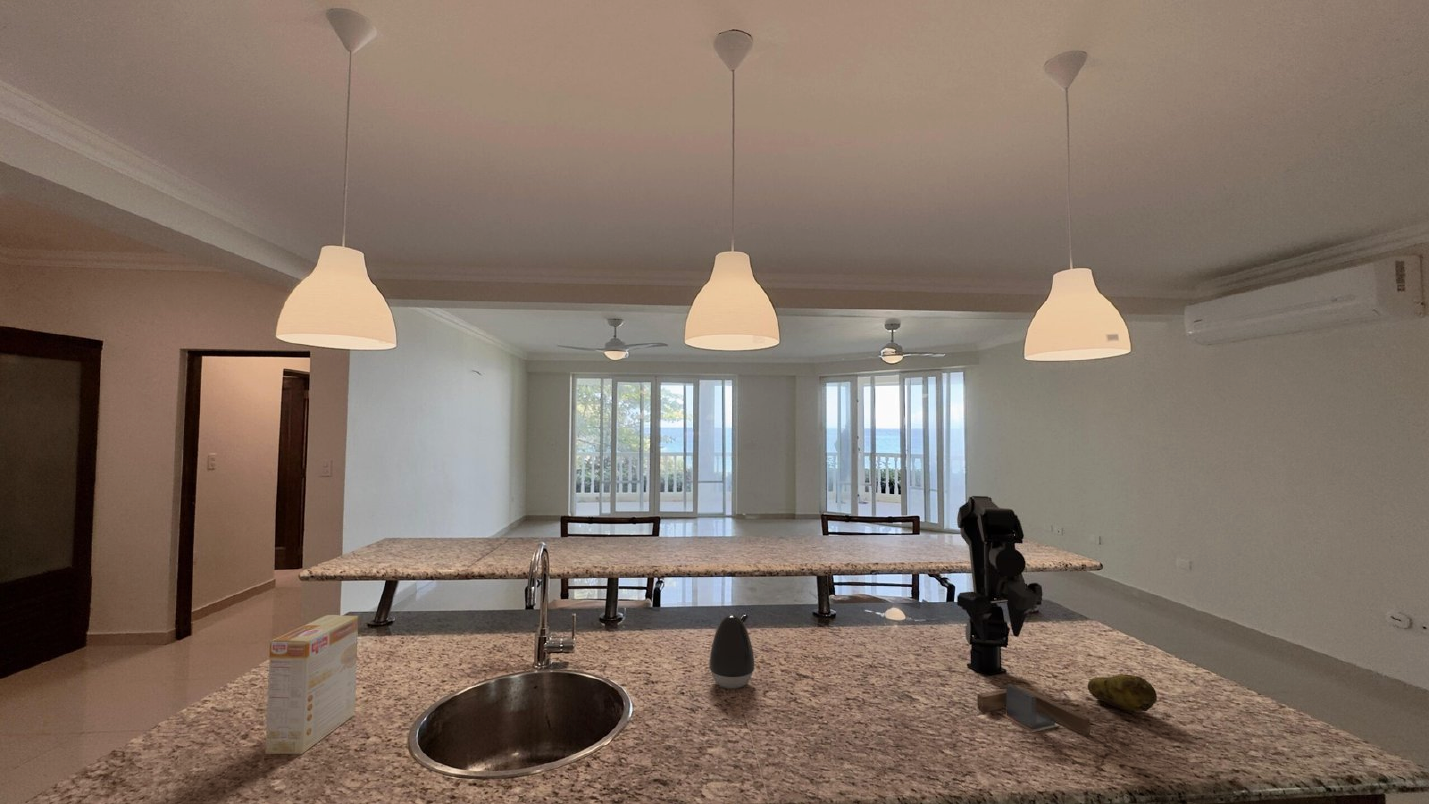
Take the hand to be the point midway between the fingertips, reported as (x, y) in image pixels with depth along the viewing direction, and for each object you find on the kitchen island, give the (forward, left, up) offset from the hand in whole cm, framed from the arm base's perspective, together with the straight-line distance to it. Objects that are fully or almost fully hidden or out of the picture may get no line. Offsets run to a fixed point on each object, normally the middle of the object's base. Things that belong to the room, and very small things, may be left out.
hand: (1000, 638), depth 129 cm
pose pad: (+4, +11, -12) cm, 17 cm away
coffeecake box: (+135, -31, -12) cm, 139 cm away
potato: (-18, +14, -12) cm, 26 cm away
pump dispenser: (+53, -25, -12) cm, 60 cm away
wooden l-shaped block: (+4, +11, -12) cm, 17 cm away
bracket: (+4, +11, -12) cm, 17 cm away
